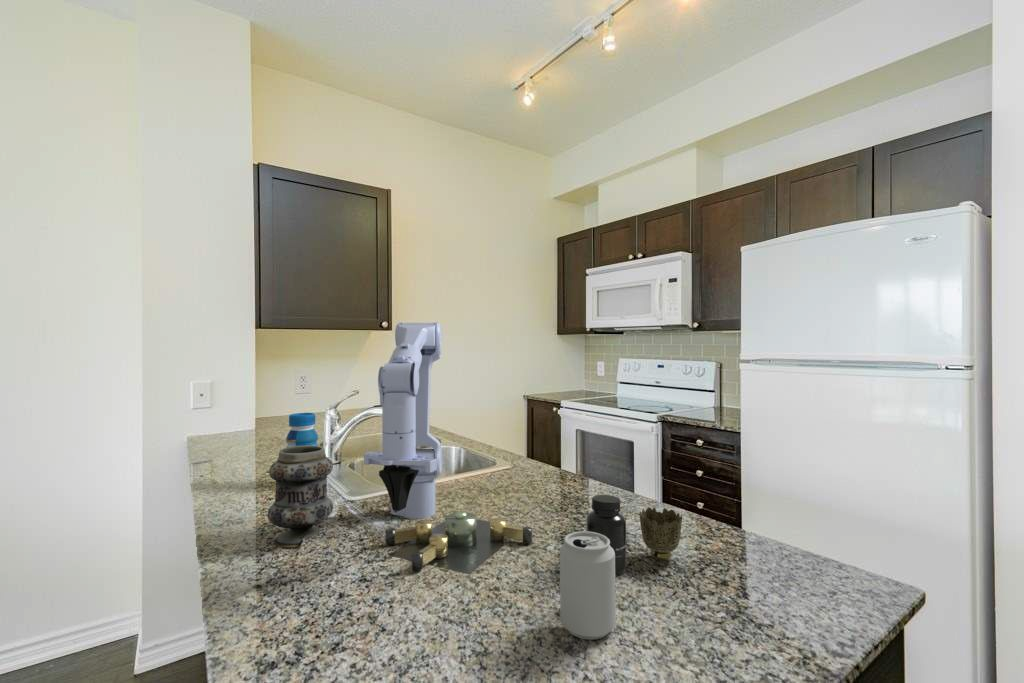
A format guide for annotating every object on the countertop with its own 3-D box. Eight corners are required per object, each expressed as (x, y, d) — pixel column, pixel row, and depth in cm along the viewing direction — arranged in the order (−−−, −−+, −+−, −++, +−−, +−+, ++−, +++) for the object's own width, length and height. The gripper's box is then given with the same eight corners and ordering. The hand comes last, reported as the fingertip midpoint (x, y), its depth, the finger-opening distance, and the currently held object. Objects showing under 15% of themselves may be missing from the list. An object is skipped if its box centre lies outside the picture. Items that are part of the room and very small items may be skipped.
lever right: (487, 538, 91) (486, 522, 91) (494, 532, 94) (494, 517, 94) (528, 546, 88) (528, 529, 88) (535, 539, 91) (535, 523, 91)
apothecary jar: (345, 532, 99) (345, 445, 99) (297, 555, 88) (297, 457, 88) (304, 523, 104) (304, 441, 104) (253, 544, 93) (253, 452, 93)
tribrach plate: (387, 561, 85) (387, 525, 85) (454, 520, 105) (454, 491, 105) (469, 581, 78) (469, 542, 78) (524, 533, 97) (524, 502, 97)
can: (555, 612, 68) (555, 529, 68) (606, 610, 69) (606, 527, 69) (566, 645, 61) (565, 551, 61) (623, 641, 61) (622, 548, 62)
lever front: (436, 549, 86) (436, 532, 87) (451, 552, 85) (451, 535, 85) (406, 569, 79) (406, 551, 79) (422, 573, 77) (422, 554, 77)
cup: (682, 552, 88) (682, 509, 88) (683, 570, 81) (682, 523, 81) (641, 547, 90) (640, 505, 91) (638, 563, 83) (637, 518, 84)
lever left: (430, 534, 93) (430, 519, 93) (433, 540, 90) (433, 525, 90) (385, 540, 90) (385, 525, 90) (386, 547, 87) (386, 531, 87)
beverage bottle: (310, 490, 128) (310, 416, 128) (279, 490, 128) (279, 416, 128) (323, 481, 136) (323, 412, 136) (294, 481, 136) (294, 412, 137)
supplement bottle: (627, 579, 78) (626, 506, 78) (585, 575, 79) (584, 503, 79) (625, 561, 85) (625, 493, 85) (587, 557, 86) (586, 491, 86)
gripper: (351, 431, 83) (351, 510, 83) (419, 438, 77) (419, 522, 76) (378, 425, 89) (378, 498, 89) (443, 431, 83) (443, 509, 83)
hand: (399, 508), depth 83 cm, fingers closed
